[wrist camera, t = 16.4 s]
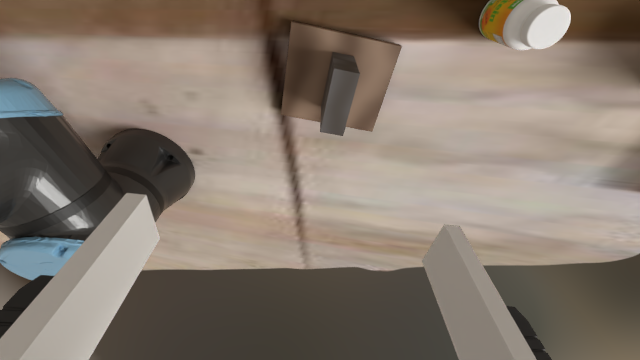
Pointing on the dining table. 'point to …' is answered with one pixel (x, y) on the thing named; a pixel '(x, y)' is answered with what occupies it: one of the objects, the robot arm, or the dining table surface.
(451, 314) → the robot arm
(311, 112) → the walnut lid
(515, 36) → the supplement bottle
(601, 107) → the dining table surface
